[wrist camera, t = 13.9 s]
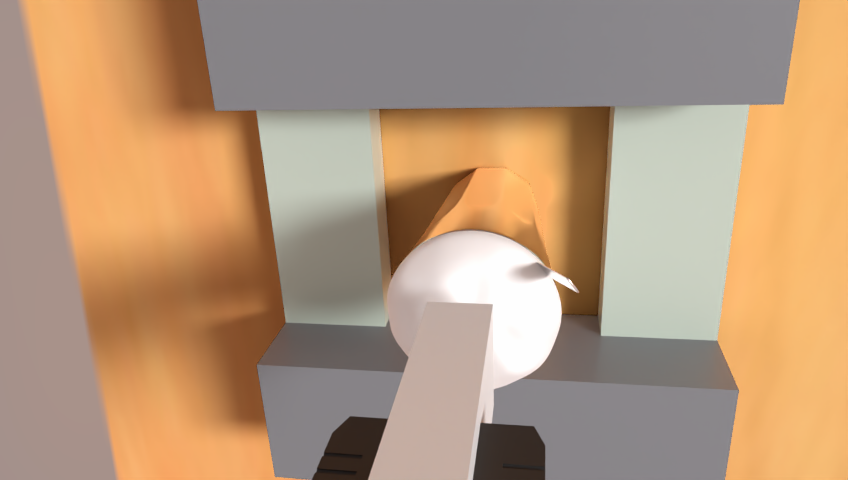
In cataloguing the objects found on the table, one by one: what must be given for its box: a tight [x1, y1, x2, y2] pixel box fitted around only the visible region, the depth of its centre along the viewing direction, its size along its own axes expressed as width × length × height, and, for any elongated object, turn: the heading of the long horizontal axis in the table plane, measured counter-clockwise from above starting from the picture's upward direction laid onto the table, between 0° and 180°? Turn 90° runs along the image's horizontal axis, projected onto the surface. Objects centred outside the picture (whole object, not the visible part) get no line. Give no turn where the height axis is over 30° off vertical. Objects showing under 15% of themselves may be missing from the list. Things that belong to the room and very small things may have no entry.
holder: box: [197, 0, 800, 480], centre depth 23 cm, size 19×16×4 cm
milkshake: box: [387, 168, 579, 389], centre depth 21 cm, size 4×5×10 cm
